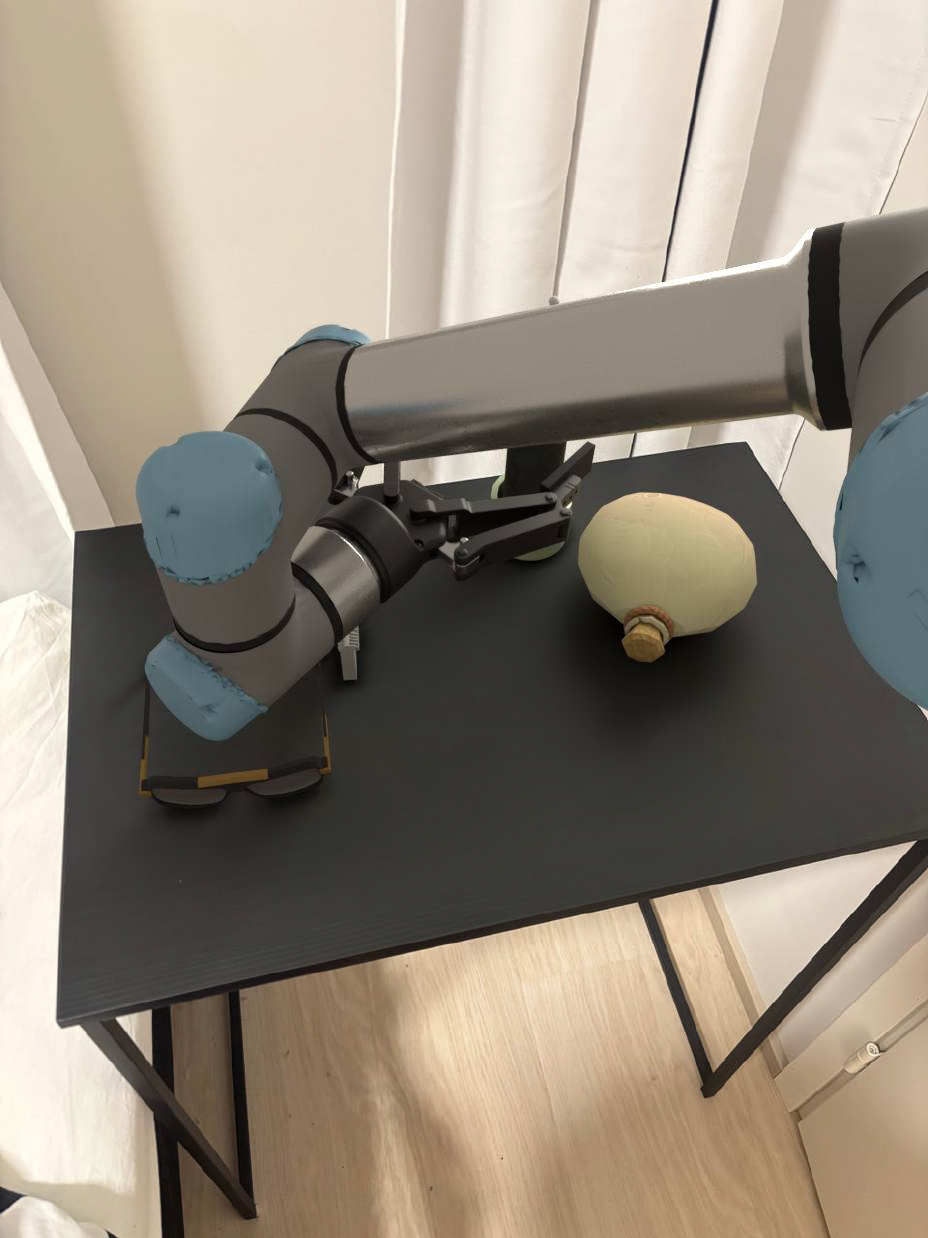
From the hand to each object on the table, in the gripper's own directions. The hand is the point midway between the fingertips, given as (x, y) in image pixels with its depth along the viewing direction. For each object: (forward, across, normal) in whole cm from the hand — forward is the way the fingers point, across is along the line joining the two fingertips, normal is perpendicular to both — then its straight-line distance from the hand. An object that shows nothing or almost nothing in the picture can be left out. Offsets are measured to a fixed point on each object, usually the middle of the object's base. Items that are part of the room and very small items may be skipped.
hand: (521, 420), depth 77 cm
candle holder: (+3, 0, -16) cm, 16 cm away
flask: (+2, +15, -16) cm, 22 cm away
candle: (+3, 0, -15) cm, 16 cm away
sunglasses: (-30, -5, -16) cm, 34 cm away
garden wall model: (-17, -5, -16) cm, 24 cm away
